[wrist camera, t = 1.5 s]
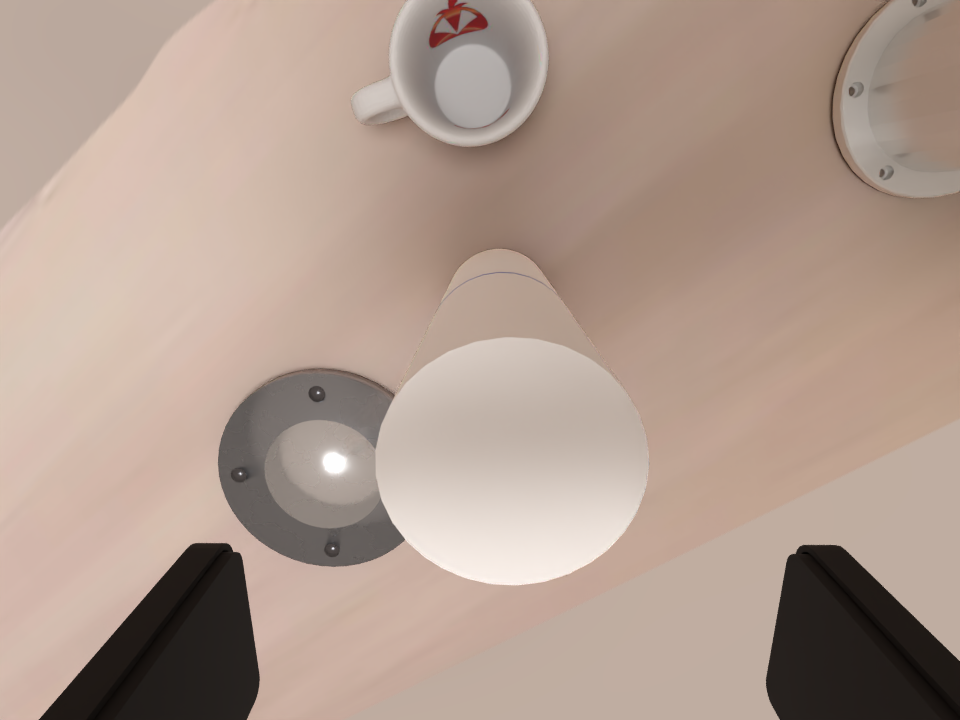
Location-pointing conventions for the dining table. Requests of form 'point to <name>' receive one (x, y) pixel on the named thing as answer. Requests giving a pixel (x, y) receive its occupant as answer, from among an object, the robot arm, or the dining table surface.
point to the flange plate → (310, 467)
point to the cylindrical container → (510, 433)
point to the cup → (461, 70)
